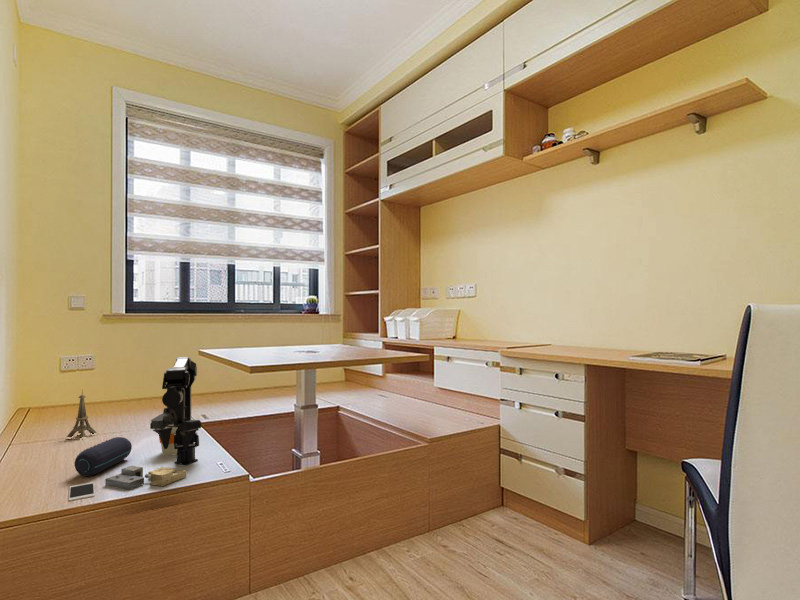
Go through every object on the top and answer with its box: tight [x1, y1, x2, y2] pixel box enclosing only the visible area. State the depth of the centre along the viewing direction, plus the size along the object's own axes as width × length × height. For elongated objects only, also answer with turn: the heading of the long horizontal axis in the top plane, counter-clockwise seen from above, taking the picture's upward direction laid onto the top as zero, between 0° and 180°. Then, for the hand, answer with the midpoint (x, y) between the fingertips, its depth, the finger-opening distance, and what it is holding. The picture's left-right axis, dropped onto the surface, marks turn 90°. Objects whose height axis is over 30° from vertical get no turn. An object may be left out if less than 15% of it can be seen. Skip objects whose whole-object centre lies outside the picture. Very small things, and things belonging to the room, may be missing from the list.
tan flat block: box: [144, 466, 187, 487], centre depth 170 cm, size 10×12×4 cm
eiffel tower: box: [66, 390, 98, 438], centre depth 235 cm, size 11×11×25 cm
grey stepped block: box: [104, 465, 145, 491], centre depth 167 cm, size 10×12×4 cm
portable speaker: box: [74, 436, 133, 477], centre depth 185 cm, size 25×10×10 cm, turn 179°
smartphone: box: [68, 481, 96, 502], centre depth 159 cm, size 7×16×1 cm, turn 34°
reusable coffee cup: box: [158, 424, 179, 456], centre depth 205 cm, size 13×13×15 cm
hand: (175, 449), depth 163 cm, fingers open, 9 cm apart
